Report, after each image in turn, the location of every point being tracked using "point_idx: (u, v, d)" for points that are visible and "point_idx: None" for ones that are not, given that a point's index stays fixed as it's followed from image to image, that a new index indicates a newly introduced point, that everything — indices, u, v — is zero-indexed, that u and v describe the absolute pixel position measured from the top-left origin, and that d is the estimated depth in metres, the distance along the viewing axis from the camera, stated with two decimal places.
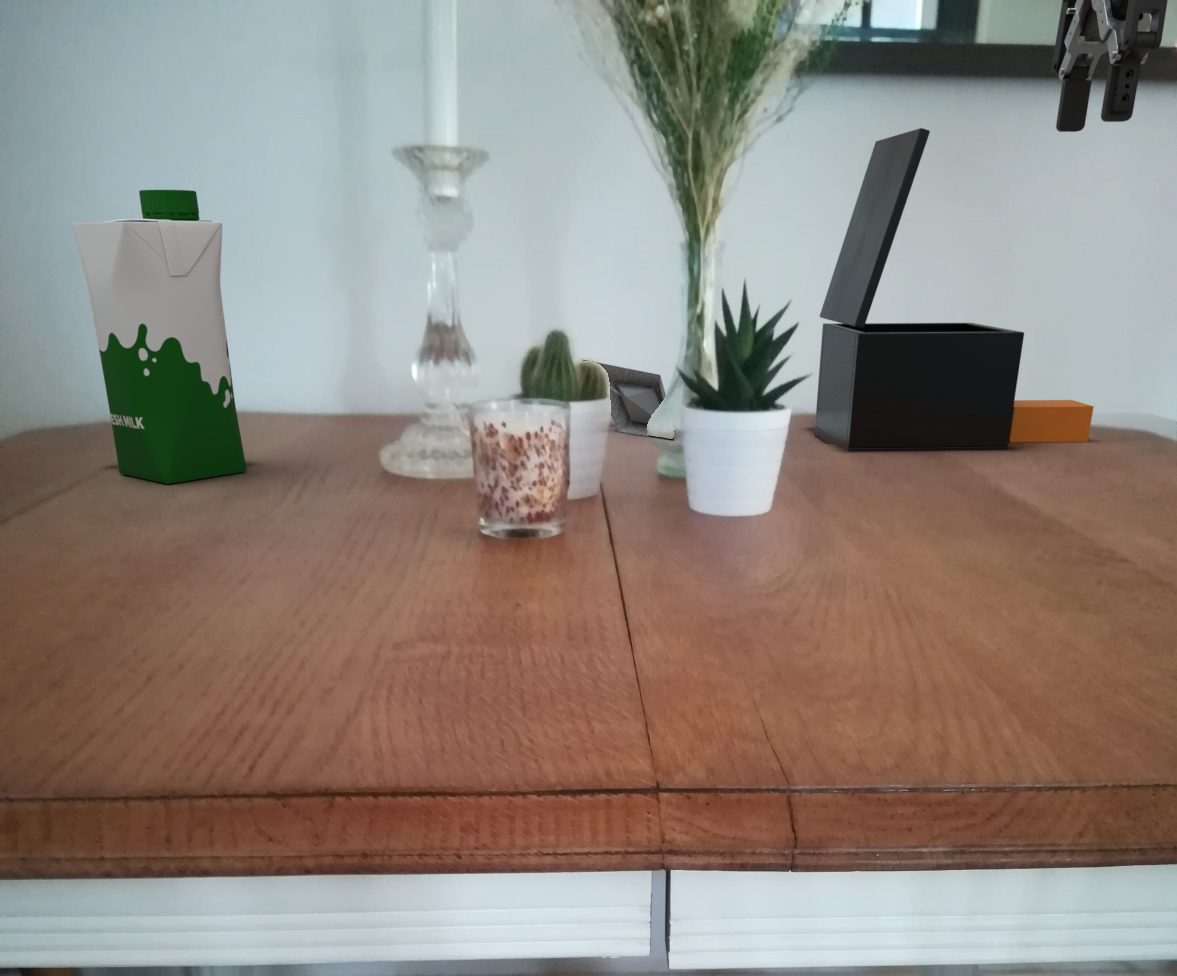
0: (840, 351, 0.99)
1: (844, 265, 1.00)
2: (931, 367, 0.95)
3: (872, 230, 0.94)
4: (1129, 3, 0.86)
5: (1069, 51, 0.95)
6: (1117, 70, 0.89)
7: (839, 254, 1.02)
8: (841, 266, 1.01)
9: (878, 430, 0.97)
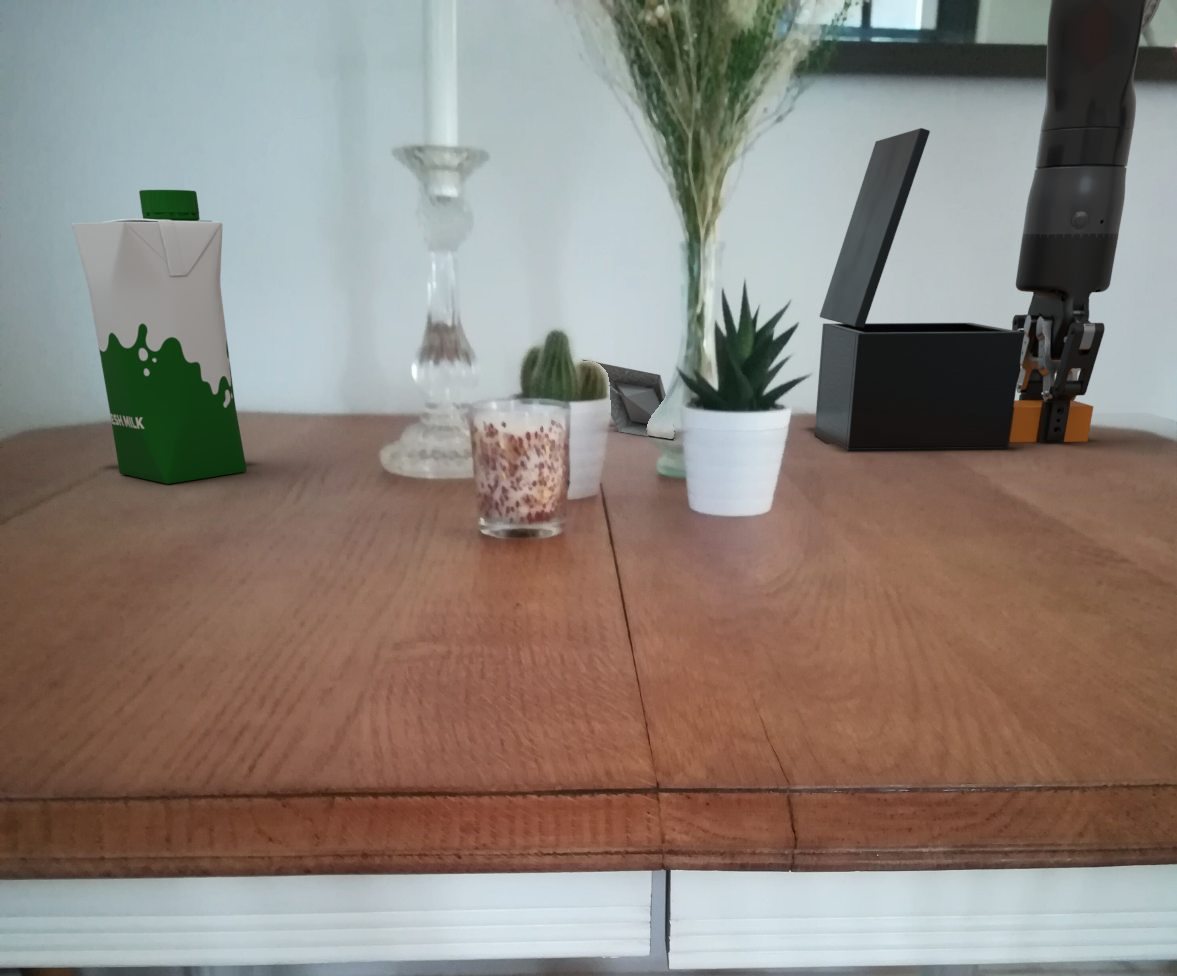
0: (840, 351, 0.99)
1: (844, 265, 1.00)
2: (931, 367, 0.95)
3: (872, 230, 0.94)
4: (1062, 357, 0.96)
5: (1023, 367, 1.03)
6: (1049, 406, 1.00)
7: (839, 254, 1.02)
8: (841, 266, 1.01)
9: (878, 430, 0.97)
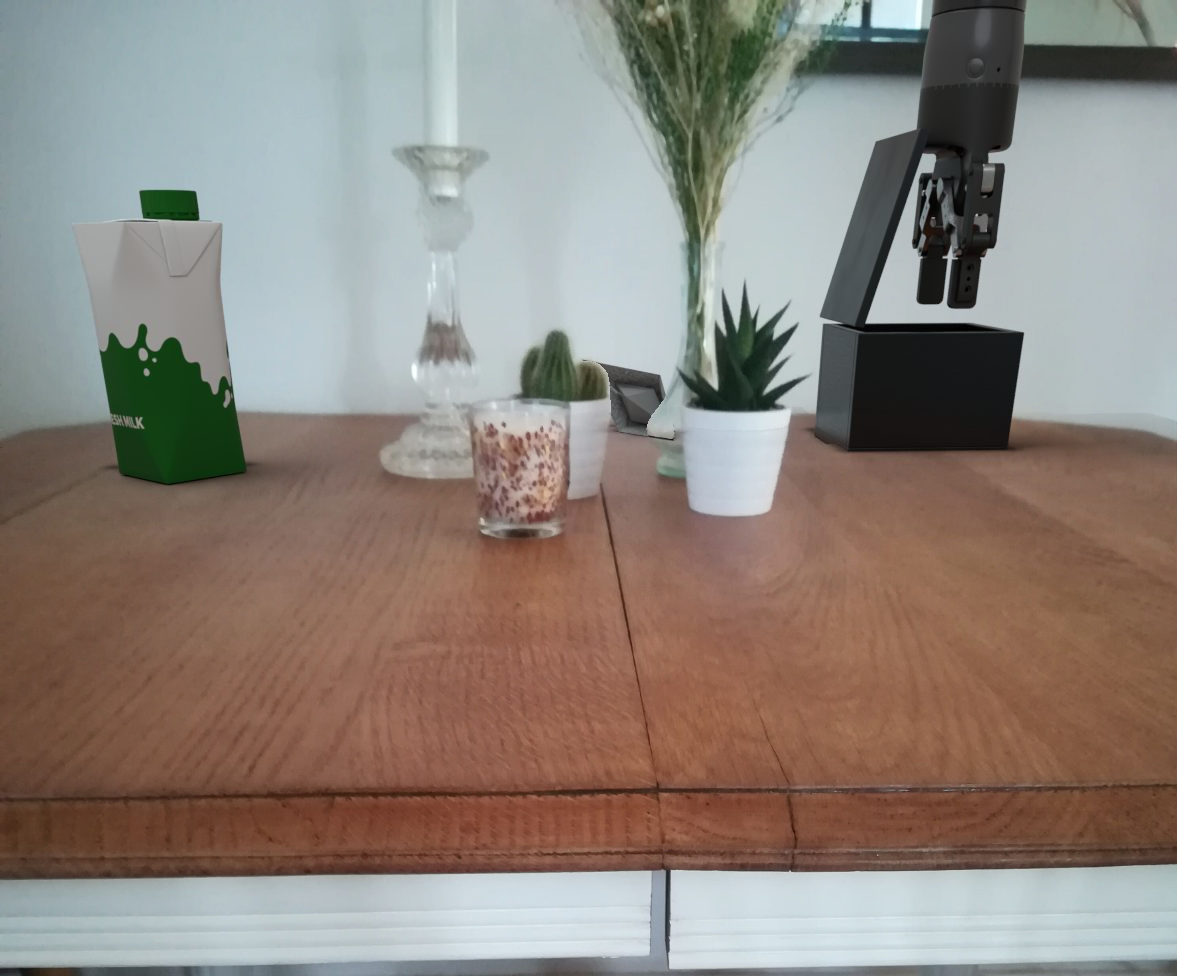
0: (840, 351, 0.99)
1: (844, 265, 1.00)
2: (931, 367, 0.95)
3: (872, 230, 0.94)
4: (965, 205, 0.90)
5: (923, 233, 0.99)
6: (959, 263, 0.93)
7: (839, 254, 1.02)
8: (841, 266, 1.01)
9: (878, 430, 0.97)
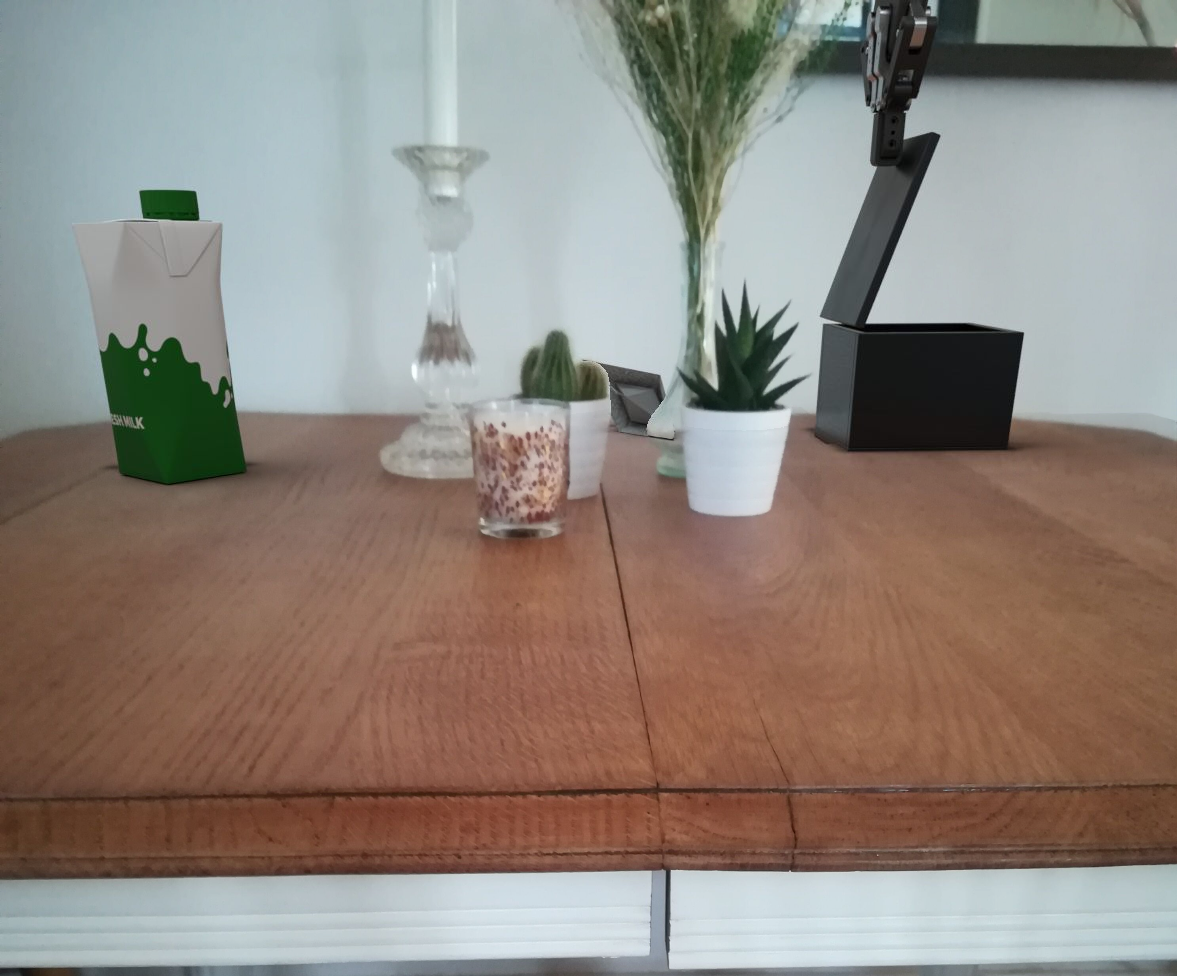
0: (840, 351, 0.99)
1: (847, 266, 1.00)
2: (931, 367, 0.95)
3: (877, 231, 0.94)
4: (893, 54, 0.87)
5: (873, 74, 0.91)
6: (884, 117, 0.92)
7: (843, 255, 1.02)
8: (844, 267, 1.01)
9: (878, 430, 0.97)
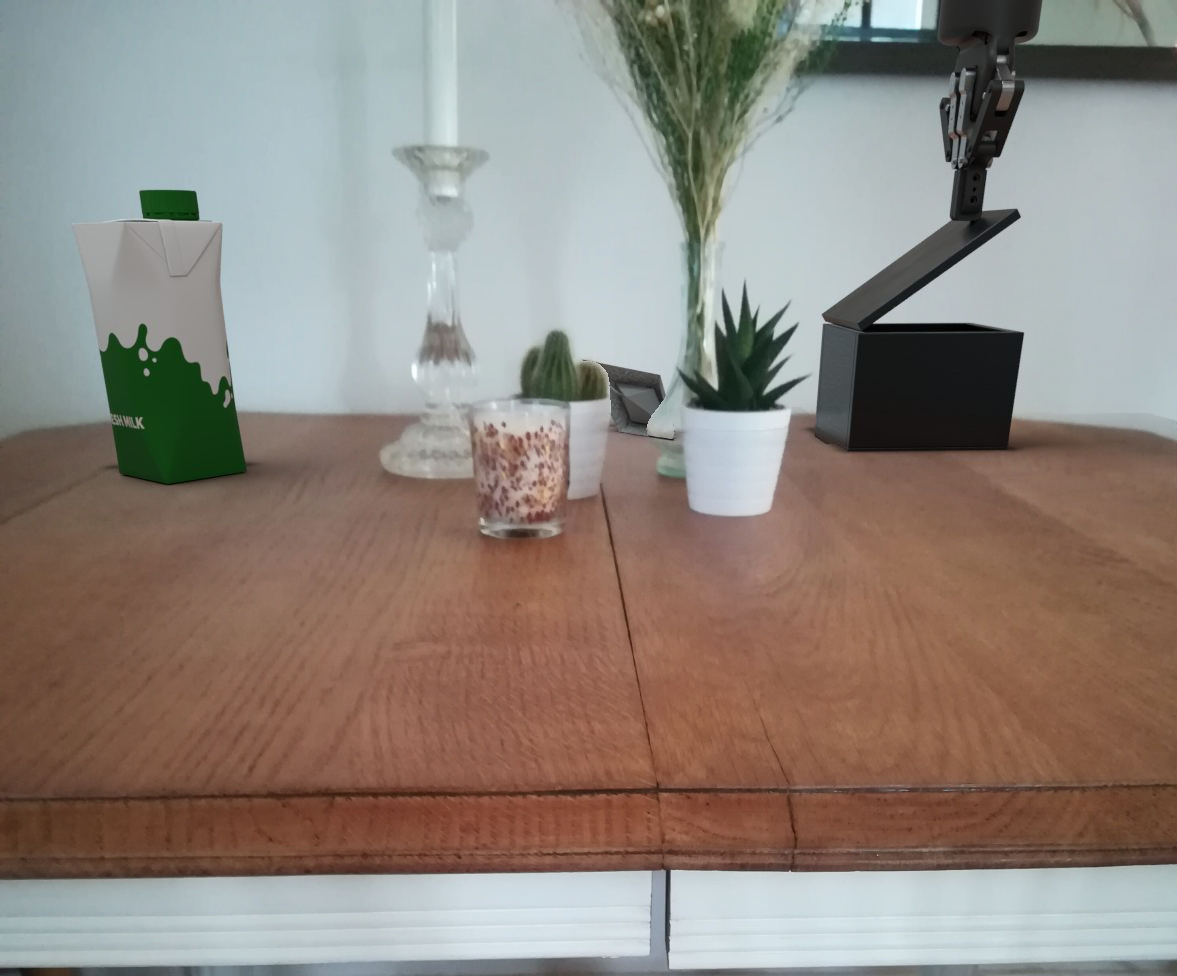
0: (840, 351, 0.99)
1: (873, 284, 1.01)
2: (931, 367, 0.95)
3: (919, 265, 0.95)
4: (978, 116, 0.89)
5: (955, 132, 0.93)
6: (965, 174, 0.94)
7: (872, 277, 1.03)
8: (869, 284, 1.01)
9: (878, 430, 0.97)
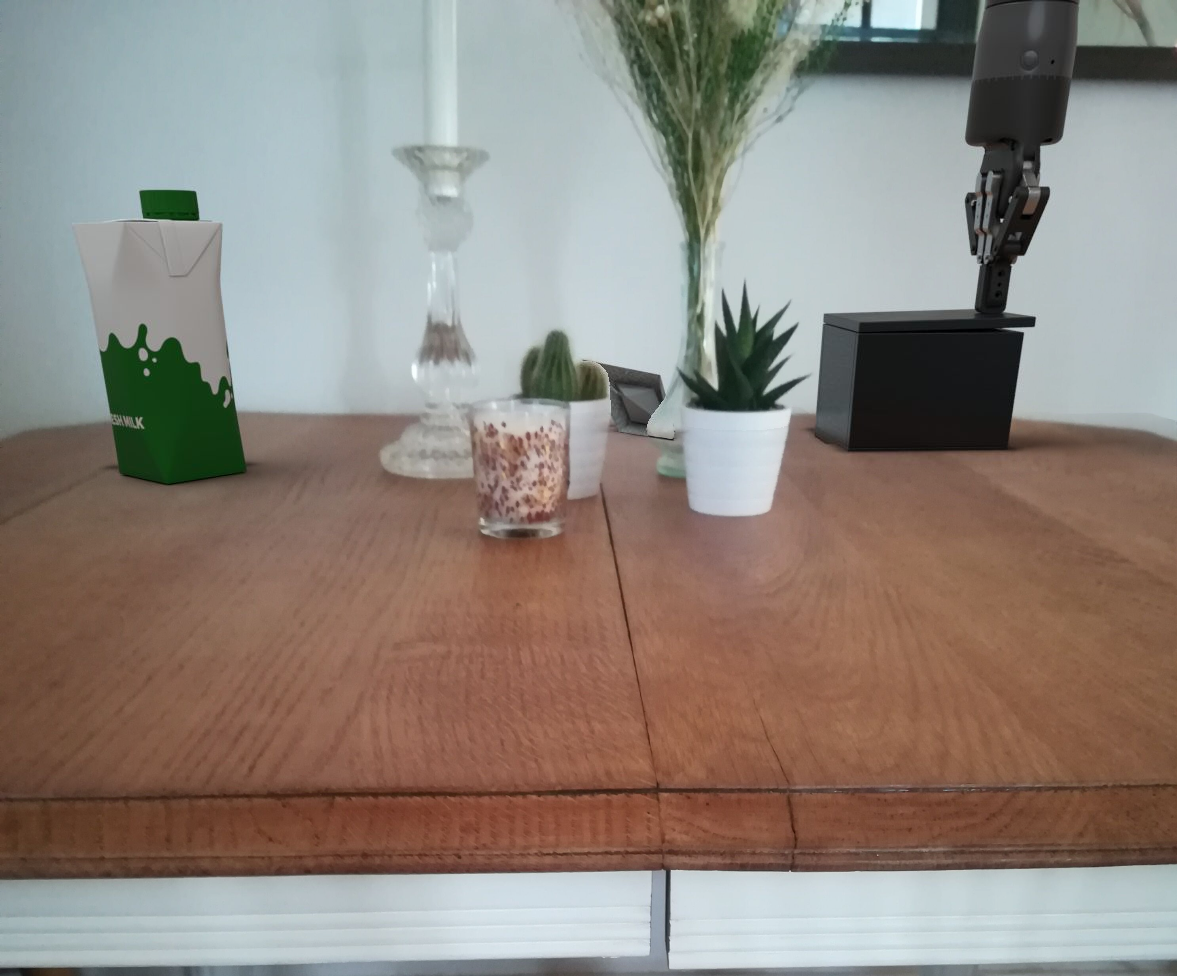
0: (840, 351, 0.99)
1: (881, 313, 1.02)
2: (931, 367, 0.95)
3: (932, 316, 0.97)
4: (1005, 218, 0.92)
5: (981, 229, 0.97)
6: (990, 270, 0.97)
7: None
8: (877, 313, 1.02)
9: (878, 430, 0.97)
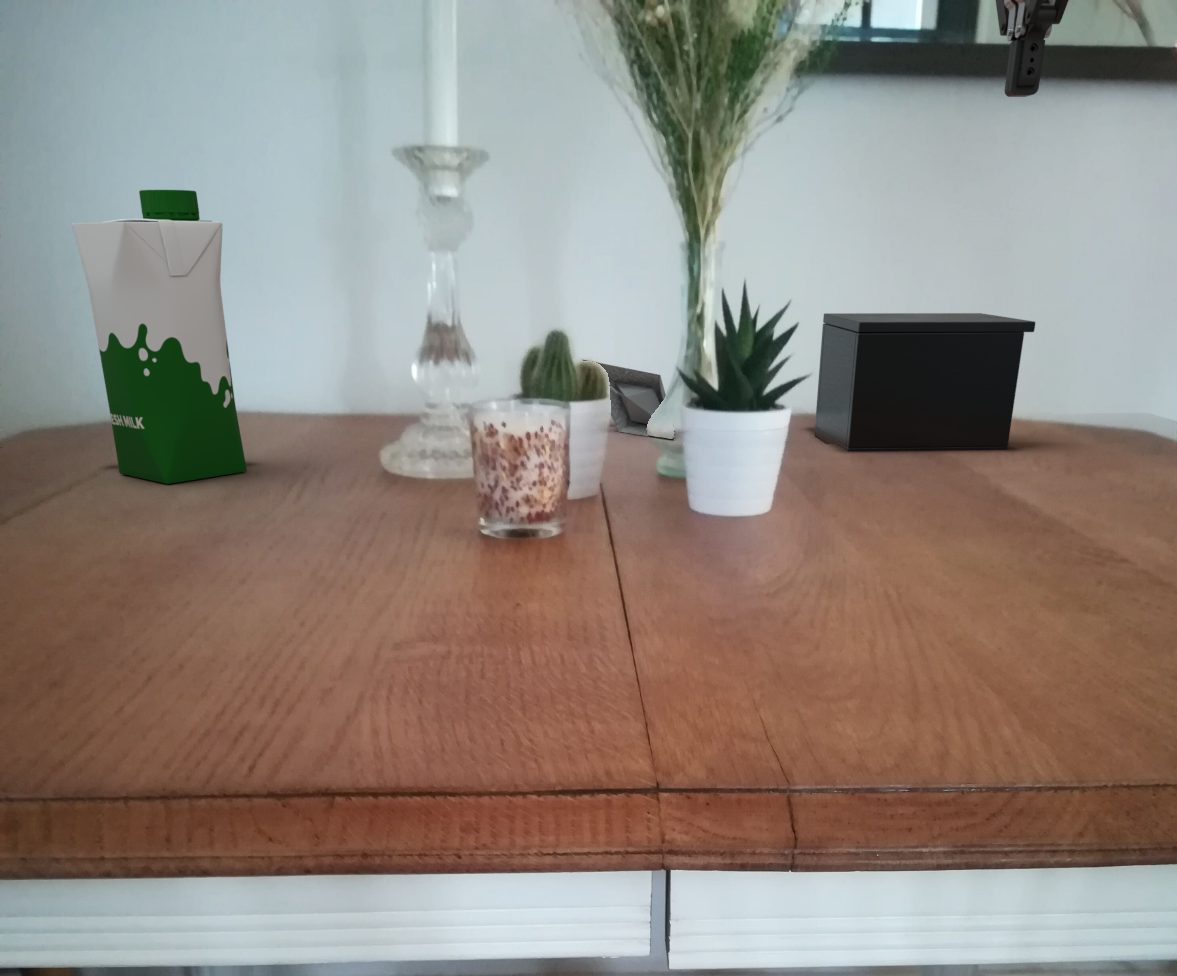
0: (840, 351, 0.99)
1: (881, 315, 1.02)
2: (931, 367, 0.95)
3: (932, 318, 0.97)
4: None
5: (1012, 0, 0.90)
6: (1022, 44, 0.90)
7: (882, 313, 1.04)
8: (877, 314, 1.02)
9: (878, 430, 0.97)
